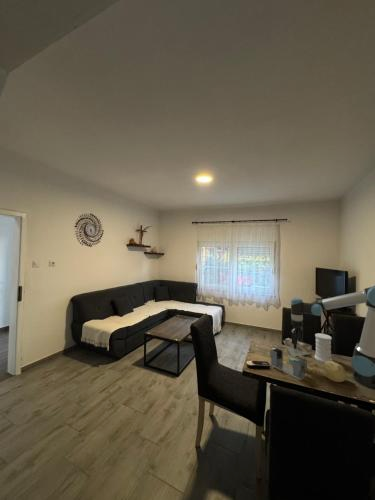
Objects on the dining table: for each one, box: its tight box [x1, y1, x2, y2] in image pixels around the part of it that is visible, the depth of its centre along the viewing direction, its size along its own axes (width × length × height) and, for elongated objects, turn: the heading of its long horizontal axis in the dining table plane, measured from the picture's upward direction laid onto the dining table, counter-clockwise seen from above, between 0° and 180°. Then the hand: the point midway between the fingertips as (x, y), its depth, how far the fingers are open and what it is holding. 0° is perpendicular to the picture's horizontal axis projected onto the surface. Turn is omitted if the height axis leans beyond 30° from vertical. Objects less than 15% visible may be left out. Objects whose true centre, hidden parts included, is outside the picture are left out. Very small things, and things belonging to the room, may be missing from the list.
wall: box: [282, 339, 312, 358], centre depth 175 cm, size 16×9×15 cm
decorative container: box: [314, 332, 333, 363], centre depth 163 cm, size 12×12×18 cm
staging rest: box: [288, 357, 299, 365], centre depth 154 cm, size 10×4×3 cm, turn 35°
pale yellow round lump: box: [322, 360, 347, 383], centre depth 137 cm, size 12×12×11 cm
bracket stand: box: [269, 347, 308, 381], centre depth 146 cm, size 22×9×11 cm, turn 35°
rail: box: [284, 337, 313, 353], centre depth 153 cm, size 17×4×4 cm, turn 35°
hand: (297, 351), depth 153 cm, fingers closed on rail, 4 cm apart
